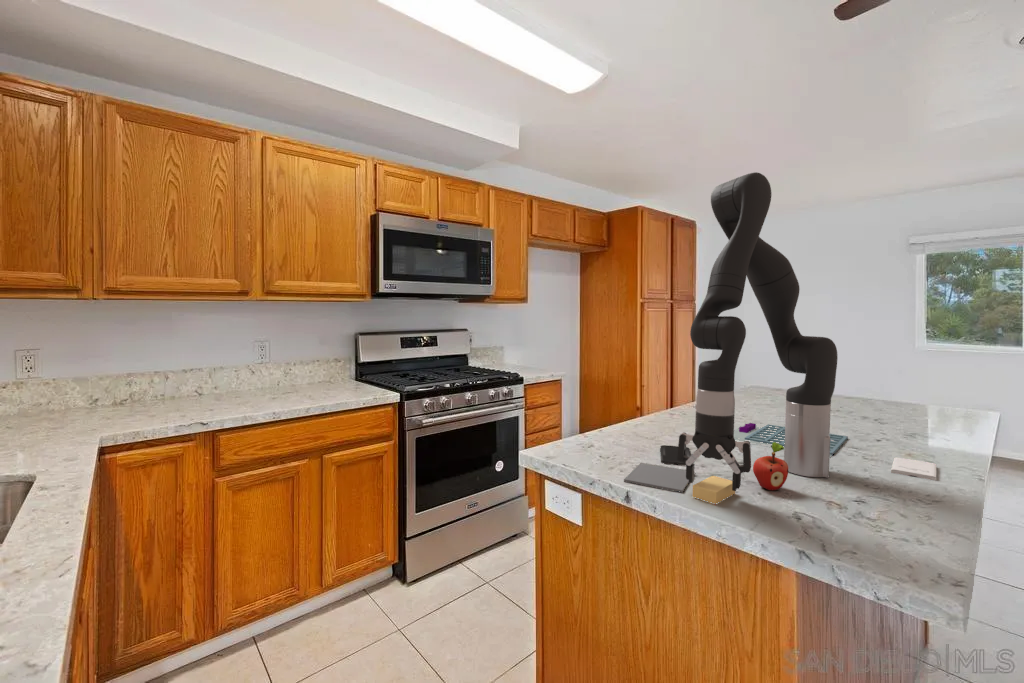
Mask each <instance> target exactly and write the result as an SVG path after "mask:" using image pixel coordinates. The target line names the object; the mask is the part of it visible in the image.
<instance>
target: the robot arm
mask: <svg viewBox="0 0 1024 683" xmlns="http://www.w3.org/2000/svg"><path fill="white" fill-rule="evenodd" d="M771 201H772V187H771V184H770V182H769V180H768V178H767V177H766V176H765V175H764V174H762V173H760V172H755V171H754V172H751V173H747V174H744V175H742V176H738V177H736V178H734V179H731V180H729V181H726V182H724V183H721V184H719V185H717V186H715V187H714V188H713V189H712V192H711V195H710V205H711V209H712V212H713V215H714V217H715V219H716V221H717V223H718V225H719V226H720V228H721V229H722V231H723V233H724V234H725V236H726V238H727V239H728V241H727V243H726V244H725V245H724V247H723V249H722V250H721V252H720V253H719V254H718V256H717V258H716V259H715V262H714V264H713V265H712V268H711V271H710V276H709V281H708V286H707V290H706V292H707V293H706V295H705V298H704V300H703V302H702V303H701V305H700V308H699V310H698V312H697V314H696V315H695V317H694V318H693V321H692V323H691V327H690V332H689V333H690V334H689V335H690V340H691V343H692V345H694V346H695V347H696V348H698V349H701V350H715V351H716V350H717V351H721V353H720V356H719V357H717V359H713V360H704V361H702V362H700V364H699V365H698V368H697V369H698V370H697V392H696V399H695V404H694V405H695V424H694V426H695V427H694V428H695V430H694V435H693V434H687V433H686V432H682V433H681V434H680V435H679V436H678V444H677V445H678V455H677V460H678V461H680V462H683V463H685V464H686V466H685V470H686V479H687V480H689V484H693V483H694V482H695V474H694V471H695V464H696V463H695V461H696V460H698V459H699V457H701V455H702V456H703V457H704V458H705V459H714V460H718V461H721V460H724V461H725V463H726V464H727V465H728V466H729V467H730V468H731V470H732V480H731V481H732V491H735V492H736V491H737V489H740V488H741V485H742V484H741V483H742V482H741V480H742V474H744V473H750V471H751V468H752V456H751V455H752V454H751V453H752V452H751V447H752V446H751V444H750V442H749V441H745V442H737V441H735V439H734V430H735V410H736V408H735V407H736V398H735V376H736V375H735V374H736V368H737V366H738V365H737V364H738V360H739V357H740V354H741V351H742V348H743V345H744V343H745V341H746V336H747V330H746V326H745V324H744V322H743V320H742V319H741V318H739V317H737V316H734V315H733V316H731V315H730V316H726V315H725V316H724V315H721V316H720V314H721V313H724V312H725V311H730V310H733V309H736V308H738V307H739V306H741V304H742V301H743V297H744V291H745V285H746V281H748V282H749V284H750V287H751V290H752V292H753V294H754V295H755V297H756V299H757V301H758V303H759V306H760V309H761V310H762V313H763V315H764V317H765V318H764V319H765V320H766V322H767V325H768V328H769V331H770V333H771V337H772V339H773V344H774V346H775V349H776V352H777V356H778V358H779V360H780V363H781V364H782V367H784V368H785V369H786V370H788V371H789V372H792V373H795V374H802V375H803V374H804V375H805V376H804V381H803V382H802V383H801V384H800V385H798V386H795V387H789V388H788V389H787V390H786V394H785V400H786V401H785V420H784V421H785V424H784V427H785V444H784V450H783V451H784V452H783V460H784V461H785V462H786V463H787V465H788V473H791V474H795V475H798V476H804V477H809V478H827V479H828V478H830V477H829V476H830V459H831V458H830V434H831V432H830V431H831V407H832V406H831V405H832V397H833V395H834V392H835V387H836V376H837V369H838V350H837V345H836V344H835V342H834V341H833V340H832V338H829V337H824V336H814V335H813V336H812V335H811V336H809V335H808V336H807V335H803V334H801V332H800V330H799V328H798V326H797V324H796V323H797V322H796V320H795V311H796V308H797V304H798V301H799V300H798V299H799V296H800V290H801V288H800V283H799V280H798V278H797V275H796V273H795V270H794V268H793V266H792V264H791V262H790V260H789V259H788V258H787V257H786V256H785V255H784V254H783V253H782V252H780V251H779V250H778V249H777V248H775V247H773V246H772V245H771V244H769V243H768V242H766V241H765V240H764V239H762V238H761V237H760V234H761V231H762V229H763V227H764V226H763V225H764V223H765V221H766V218H767V215H768V212H769V209H770V207H771ZM691 442H692V443H693V444H694V446H695V447H696V450H695V451H694V452H693V453H691V456H690V457H688V456H686V455H685V453H686V447H687V445H689V444H690V443H691ZM735 448H737V449H738V451H739V452H740V453H742V461H743V462H742V463H743V464H739V462H738V460H737V459H736V456H734V454H733V450H735ZM694 463H695V464H694Z"/></svg>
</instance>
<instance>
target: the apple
mask: <svg viewBox="0 0 1024 683" xmlns="http://www.w3.org/2000/svg"><path fill="white" fill-rule="evenodd" d="M771 446H772V447H771V448H772V452H771V455H765V456H760V457H758V458H756V459H755V461H754V462H753V467H752V472H753V474H754V477H755V479H756V480H757V482H758V485H759V486H760V487H761V488H764V489H766V490H768V491H777V490H781V489H782V488H783V486H784V485H785V483H786V481H787V479H788V476H789V471H788V465H787V463H786V462H785V461H784V459H782V458H779V457H776V453H777V452H780V451H784V450H783V449H784V447H783V446H781V445H780V444H779V443H776V442H773V443H772V445H771Z"/></svg>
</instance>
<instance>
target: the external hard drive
mask: <svg viewBox="0 0 1024 683" xmlns="http://www.w3.org/2000/svg"><path fill="white" fill-rule="evenodd" d="M890 473H891V474H896V475H902V476H909V477H915V478H919V479H924V480H925V479H926V480H930V481H935V482H936V481H937V464H936V463H933V462H927V461H922V460H915V459H909V458H903V457H897V456H896V457H894V458H893V462H892V465H891V469H890Z"/></svg>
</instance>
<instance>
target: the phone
mask: <svg viewBox="0 0 1024 683" xmlns="http://www.w3.org/2000/svg"><path fill="white" fill-rule="evenodd" d="M659 453H660V463H661V464H663V463H664V464H663V465H671V464H678V465H677V466H682V465H686V464H685V463H683V462H680V461H678V460H677V455H678V446H677V445H676V446H675V445H667V444H666V445H664V444H663V445H660V449H659ZM685 455H686V456H688V457H690V456H691V455H692V453H691V450H690V448H689V447H687V446H686V453H685Z"/></svg>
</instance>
